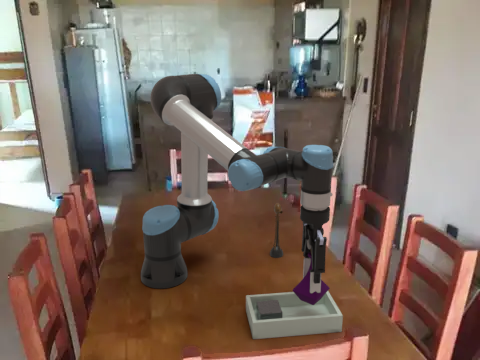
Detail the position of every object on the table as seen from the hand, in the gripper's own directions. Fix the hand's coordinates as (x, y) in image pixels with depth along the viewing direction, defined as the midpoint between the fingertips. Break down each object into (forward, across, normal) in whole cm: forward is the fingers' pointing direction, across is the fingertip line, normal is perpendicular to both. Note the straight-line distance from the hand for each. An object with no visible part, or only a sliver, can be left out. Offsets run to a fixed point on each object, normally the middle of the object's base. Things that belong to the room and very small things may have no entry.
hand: (311, 285), depth 119 cm
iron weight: (+10, 0, +12) cm, 15 cm away
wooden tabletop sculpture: (+11, +39, +1) cm, 41 cm away
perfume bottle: (+5, 0, 0) cm, 5 cm away
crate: (+11, 0, +5) cm, 12 cm away
